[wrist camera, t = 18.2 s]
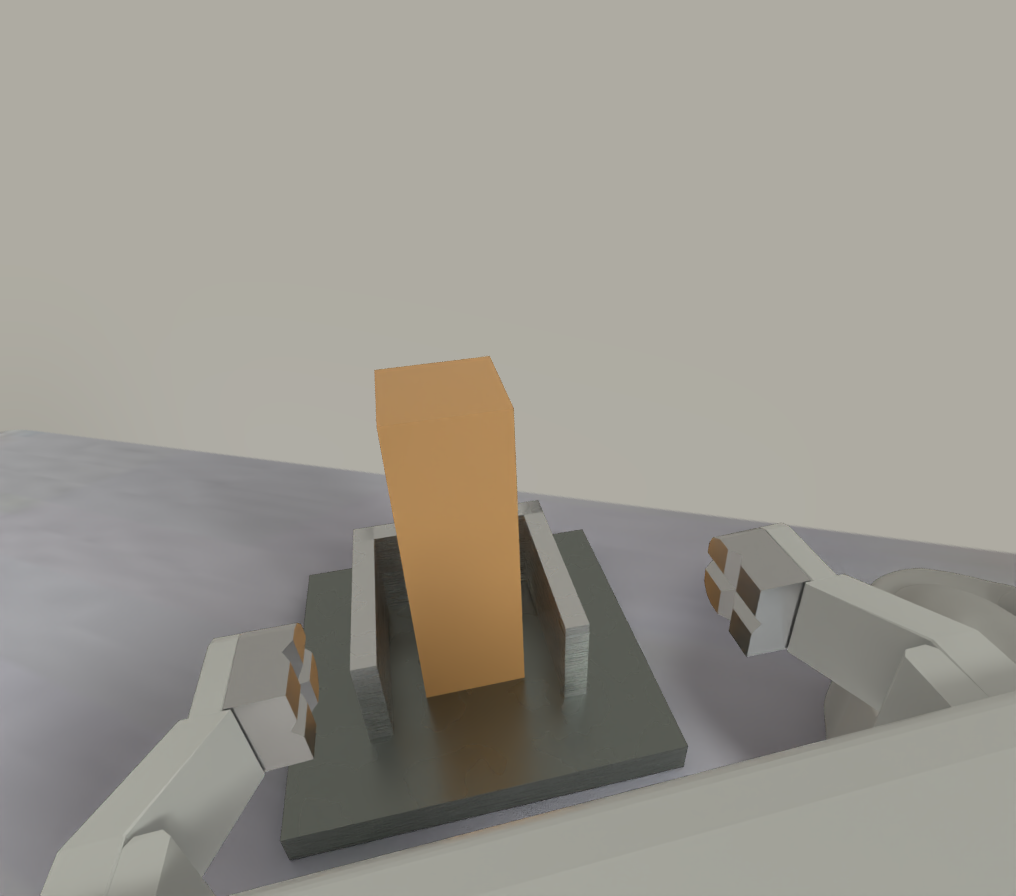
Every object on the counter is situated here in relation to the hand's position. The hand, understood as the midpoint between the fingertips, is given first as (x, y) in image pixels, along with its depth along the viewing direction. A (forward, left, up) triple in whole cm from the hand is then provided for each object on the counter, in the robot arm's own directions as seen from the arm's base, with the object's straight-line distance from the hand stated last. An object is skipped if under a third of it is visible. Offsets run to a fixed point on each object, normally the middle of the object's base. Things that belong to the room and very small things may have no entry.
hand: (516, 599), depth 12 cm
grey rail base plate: (0, -11, -16) cm, 20 cm away
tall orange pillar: (0, -11, -15) cm, 18 cm away
